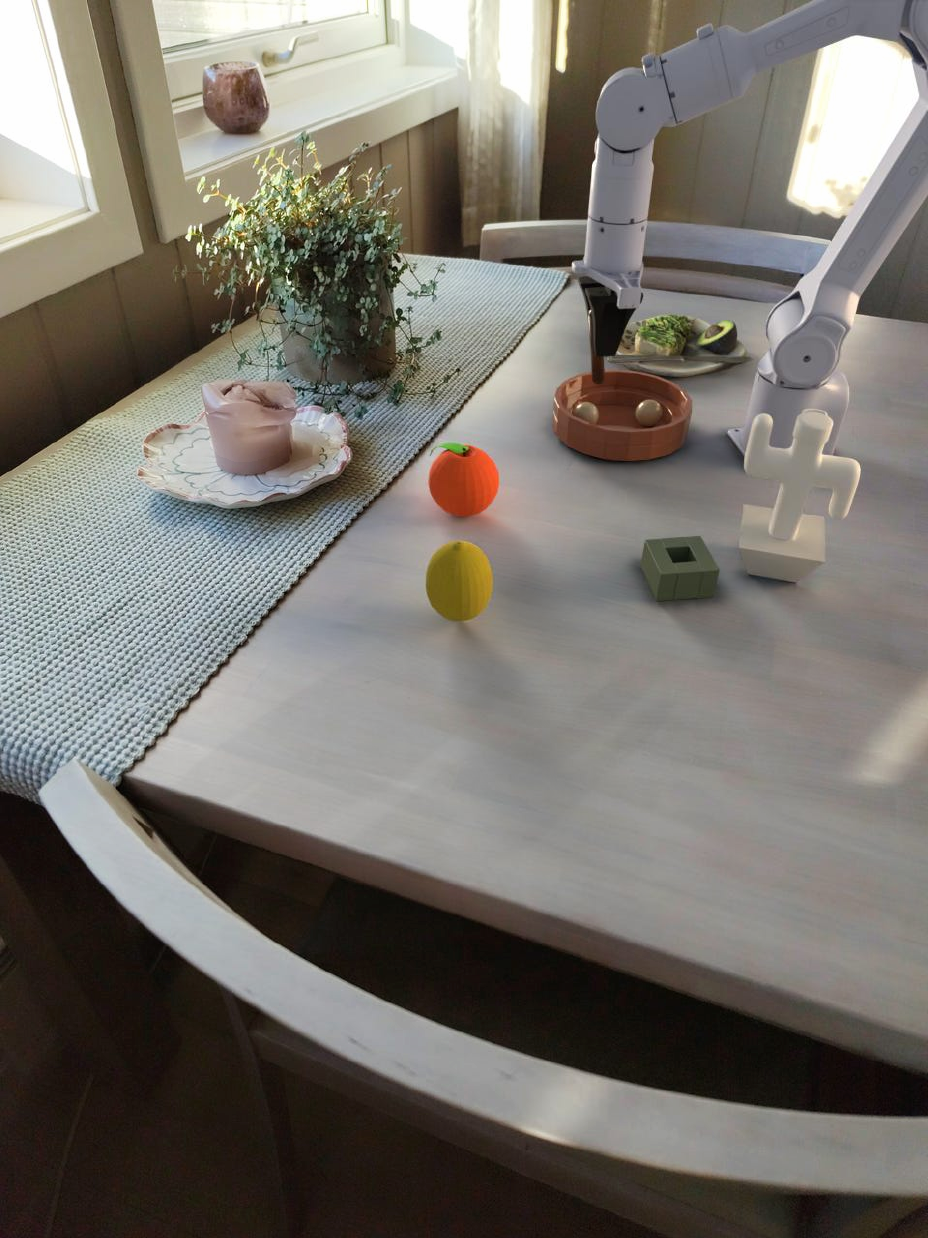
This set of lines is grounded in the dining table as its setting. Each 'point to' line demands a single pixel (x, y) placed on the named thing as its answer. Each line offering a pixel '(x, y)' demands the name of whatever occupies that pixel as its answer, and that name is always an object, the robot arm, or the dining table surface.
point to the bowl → (622, 416)
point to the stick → (595, 358)
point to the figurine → (793, 498)
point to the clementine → (463, 479)
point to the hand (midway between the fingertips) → (603, 351)
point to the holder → (679, 568)
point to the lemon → (459, 581)
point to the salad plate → (679, 346)
